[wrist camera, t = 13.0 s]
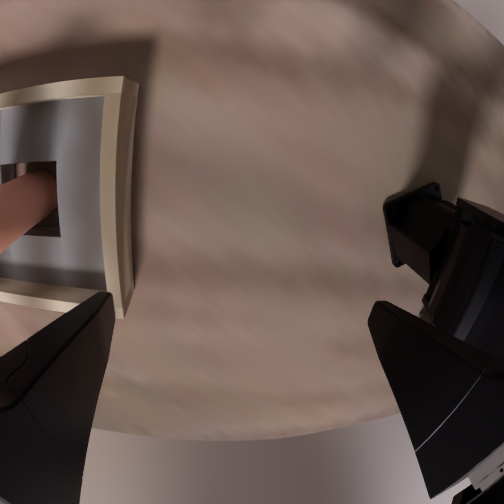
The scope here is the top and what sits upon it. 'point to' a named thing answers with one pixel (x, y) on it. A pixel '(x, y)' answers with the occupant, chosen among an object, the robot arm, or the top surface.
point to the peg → (25, 204)
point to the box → (73, 191)
